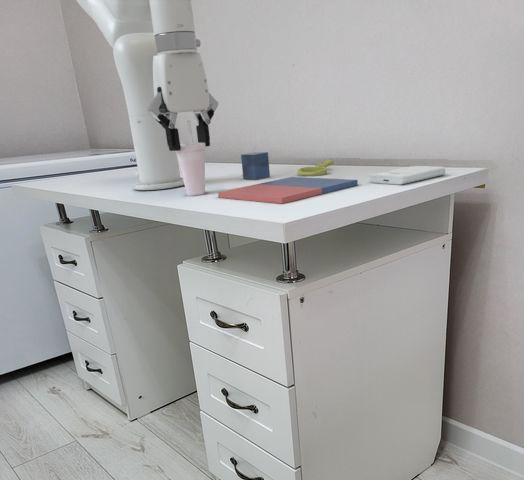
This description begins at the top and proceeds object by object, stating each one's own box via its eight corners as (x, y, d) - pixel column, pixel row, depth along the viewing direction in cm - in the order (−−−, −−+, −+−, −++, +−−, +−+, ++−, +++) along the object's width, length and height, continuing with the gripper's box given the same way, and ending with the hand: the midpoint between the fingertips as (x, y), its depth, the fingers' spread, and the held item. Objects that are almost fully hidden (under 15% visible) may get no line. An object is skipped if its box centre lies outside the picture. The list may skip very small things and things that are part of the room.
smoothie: (198, 196, 107) (188, 120, 101) (174, 196, 110) (163, 123, 105) (217, 191, 112) (209, 118, 106) (193, 191, 115) (184, 120, 109)
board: (218, 197, 104) (217, 192, 104) (292, 181, 116) (291, 176, 115) (282, 203, 92) (281, 197, 91) (357, 185, 103) (357, 179, 103)
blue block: (243, 179, 127) (240, 154, 125) (257, 176, 130) (255, 152, 127) (255, 179, 124) (253, 154, 122) (270, 176, 127) (268, 152, 124)
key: (334, 168, 131) (334, 158, 130) (325, 175, 121) (325, 165, 120) (305, 169, 133) (305, 160, 133) (294, 177, 123) (293, 167, 122)
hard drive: (445, 175, 105) (402, 185, 99) (411, 173, 111) (369, 182, 105) (445, 166, 104) (402, 175, 98) (412, 165, 110) (369, 173, 104)
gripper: (202, 48, 108) (213, 143, 115) (125, 49, 98) (142, 153, 105) (225, 43, 102) (235, 143, 110) (146, 43, 92) (163, 153, 100)
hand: (189, 147), depth 107 cm, fingers closed on smoothie, 6 cm apart
